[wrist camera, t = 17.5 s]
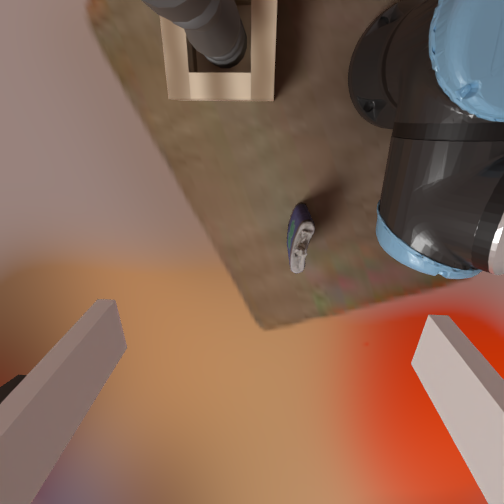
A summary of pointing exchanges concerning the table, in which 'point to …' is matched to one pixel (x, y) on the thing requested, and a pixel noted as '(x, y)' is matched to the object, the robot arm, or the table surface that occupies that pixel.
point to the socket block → (224, 79)
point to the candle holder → (208, 27)
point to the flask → (299, 236)
